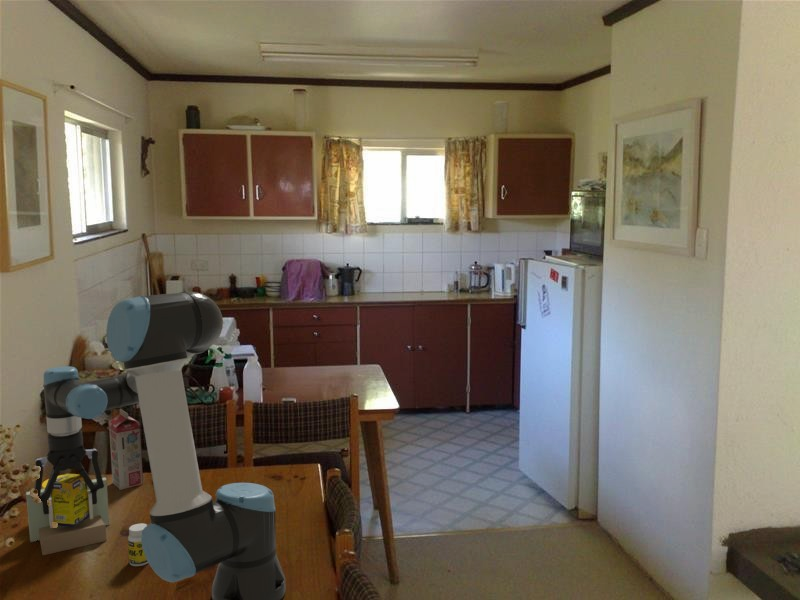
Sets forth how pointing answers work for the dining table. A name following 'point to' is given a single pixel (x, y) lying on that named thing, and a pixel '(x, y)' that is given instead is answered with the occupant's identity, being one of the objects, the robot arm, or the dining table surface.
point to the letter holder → (65, 535)
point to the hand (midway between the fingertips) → (71, 521)
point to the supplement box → (70, 500)
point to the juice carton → (125, 451)
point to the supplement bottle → (136, 545)
